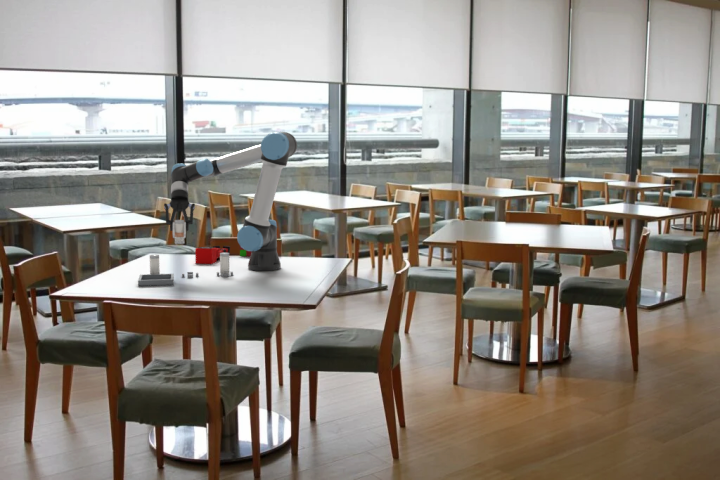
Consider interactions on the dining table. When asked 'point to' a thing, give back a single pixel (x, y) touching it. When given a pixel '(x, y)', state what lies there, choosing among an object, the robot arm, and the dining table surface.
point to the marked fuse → (179, 231)
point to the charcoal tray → (156, 280)
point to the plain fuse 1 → (154, 264)
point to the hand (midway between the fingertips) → (179, 236)
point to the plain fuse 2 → (224, 263)
